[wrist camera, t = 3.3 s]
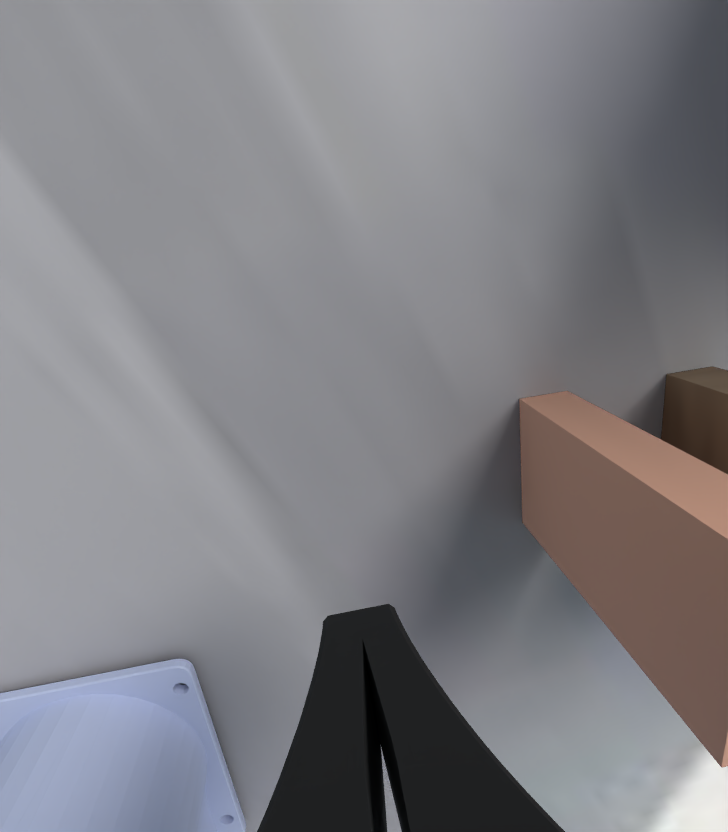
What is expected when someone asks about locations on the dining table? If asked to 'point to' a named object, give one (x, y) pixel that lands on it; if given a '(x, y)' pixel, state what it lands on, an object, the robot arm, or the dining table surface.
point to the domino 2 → (698, 414)
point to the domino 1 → (637, 546)
